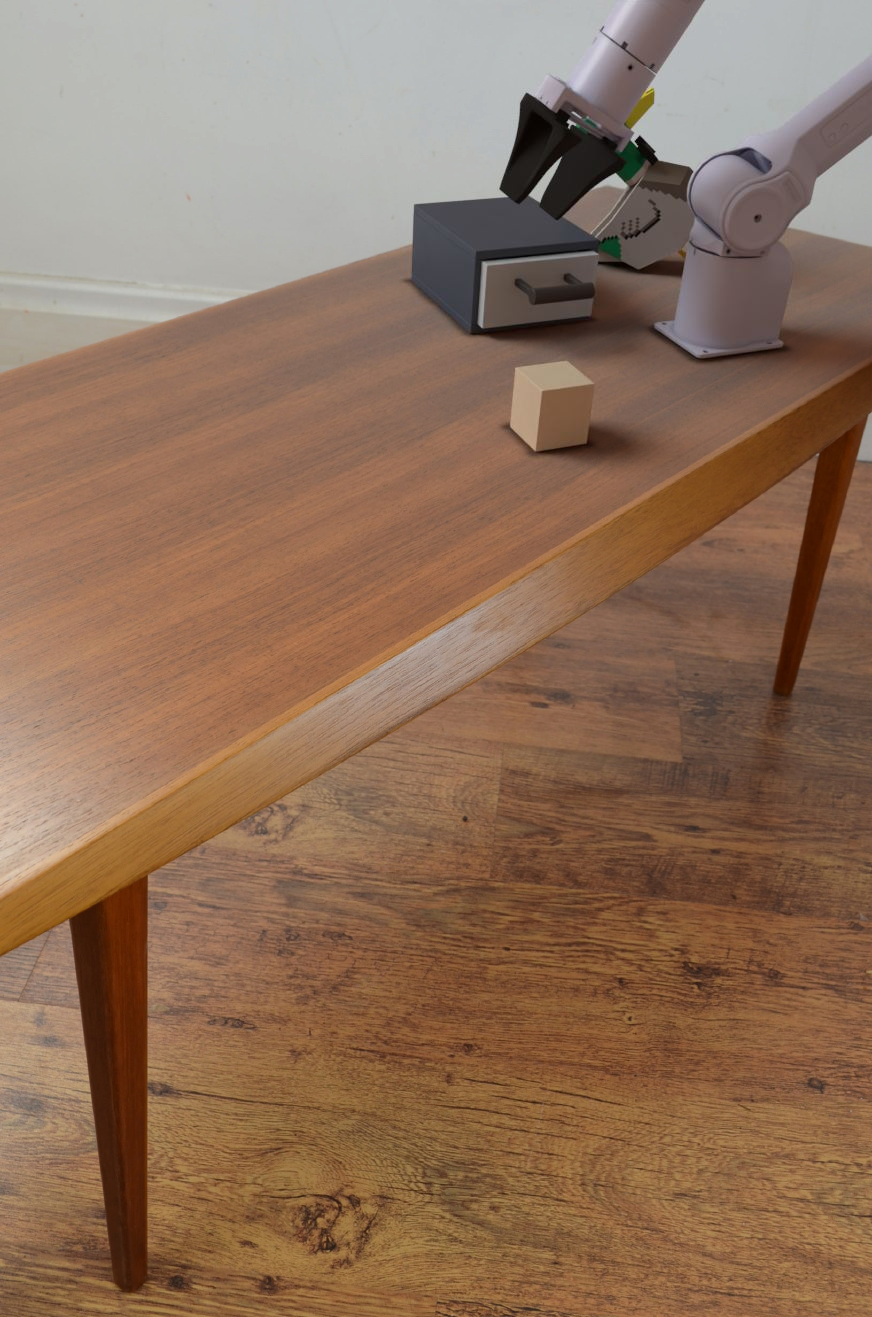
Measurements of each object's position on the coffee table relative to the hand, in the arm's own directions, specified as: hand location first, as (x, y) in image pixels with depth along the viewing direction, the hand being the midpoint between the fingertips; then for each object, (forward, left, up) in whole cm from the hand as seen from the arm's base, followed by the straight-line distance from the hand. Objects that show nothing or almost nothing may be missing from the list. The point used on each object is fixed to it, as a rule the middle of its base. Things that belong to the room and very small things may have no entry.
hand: (529, 205), depth 98 cm
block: (+6, +17, -12) cm, 22 cm away
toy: (-23, -16, -12) cm, 30 cm away
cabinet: (-3, -11, -12) cm, 16 cm away
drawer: (-3, -7, -11) cm, 13 cm away
